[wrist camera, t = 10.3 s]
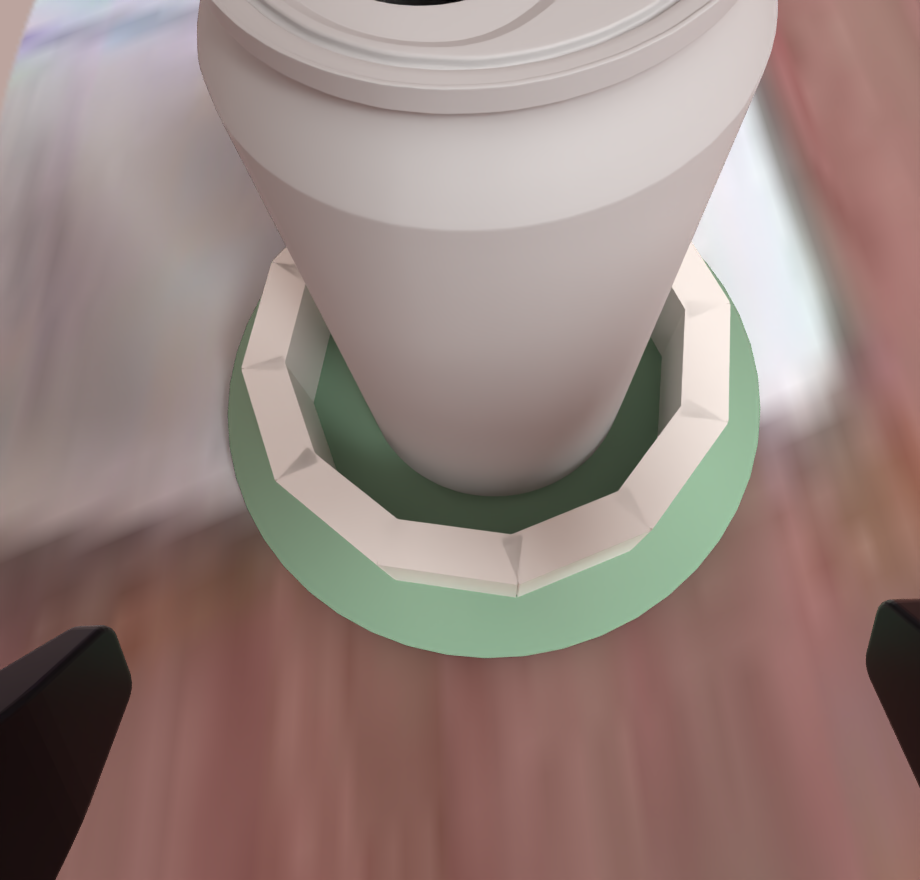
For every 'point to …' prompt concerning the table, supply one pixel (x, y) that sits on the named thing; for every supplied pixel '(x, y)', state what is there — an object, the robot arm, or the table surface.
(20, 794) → the robot arm
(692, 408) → the cup
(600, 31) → the beverage can
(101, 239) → the table surface
